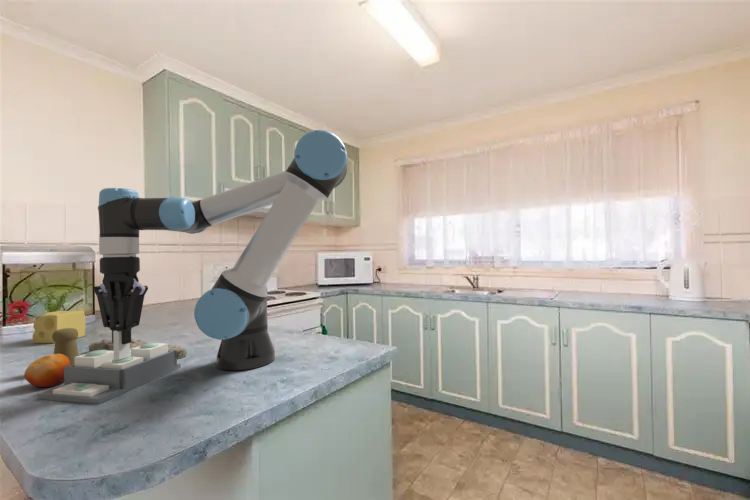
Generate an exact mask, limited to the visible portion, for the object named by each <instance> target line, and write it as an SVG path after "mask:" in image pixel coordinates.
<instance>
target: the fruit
mask: <svg viewBox="0 0 750 500" xmlns="http://www.w3.org/2000/svg"><path fill="white" fill-rule="evenodd" d="M70 365H71V364H70V361H69V359H68V357H67V356H65V355H63V354H54V353H51V354H48V355H44V356H42V357H39V358H37V359H36V360H34V361H33V362H32V363H31V364H29V365H28V366H27V367H26V369H25V372H24V375H23V376H24V379H25V380H26V381H27V382H28V384H30V385H31V386H33V387H36V388H51V387H55V386H58V385H60V384H62V383H64V367H66V366H70Z"/></svg>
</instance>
